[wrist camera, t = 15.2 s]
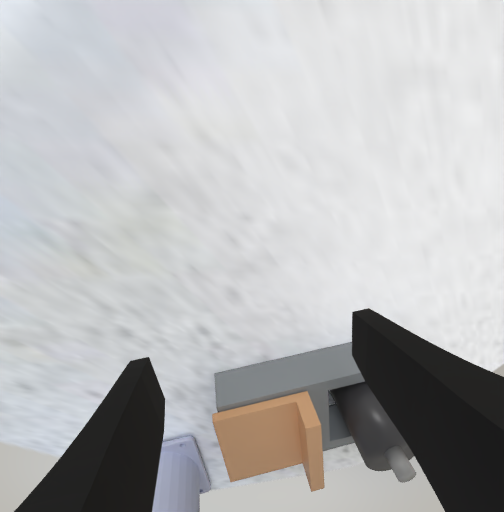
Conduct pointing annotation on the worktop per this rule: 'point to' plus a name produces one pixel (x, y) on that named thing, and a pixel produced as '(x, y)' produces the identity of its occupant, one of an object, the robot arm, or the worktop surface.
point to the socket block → (295, 386)
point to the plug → (373, 431)
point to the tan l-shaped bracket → (272, 438)
